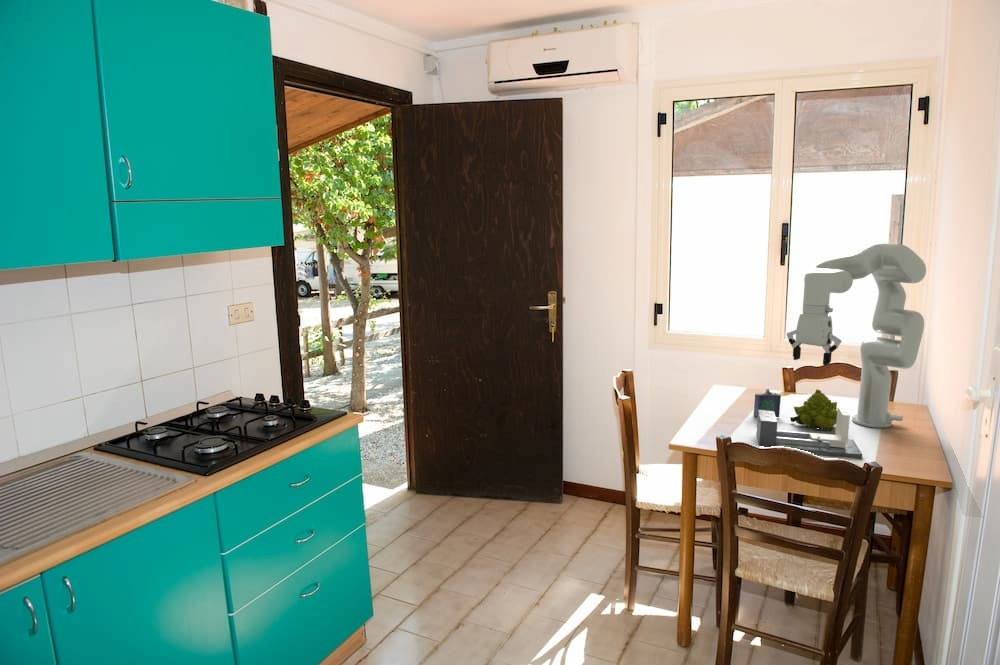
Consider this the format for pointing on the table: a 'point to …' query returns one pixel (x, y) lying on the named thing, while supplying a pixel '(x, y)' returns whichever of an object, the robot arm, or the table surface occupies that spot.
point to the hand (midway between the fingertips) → (811, 361)
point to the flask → (767, 402)
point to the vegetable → (817, 412)
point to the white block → (836, 431)
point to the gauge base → (798, 439)
